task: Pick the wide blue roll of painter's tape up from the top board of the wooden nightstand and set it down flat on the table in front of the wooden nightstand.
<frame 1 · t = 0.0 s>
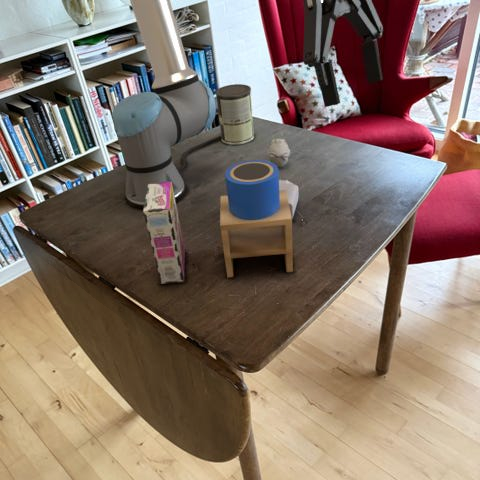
hand: (354, 93, 81), 28 cm above the table, tool tilted 20°, fingers open, 13 cm apart
tape roll: (254, 206, 87), point 12 cm above the table, touching wooden nightstand
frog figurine: (279, 166, 126), on the table
wooden nightstand: (258, 258, 95), on the table
coffee can: (237, 138, 142), on the table
charger: (278, 205, 110), on the table
candy bar box: (174, 268, 95), on the table
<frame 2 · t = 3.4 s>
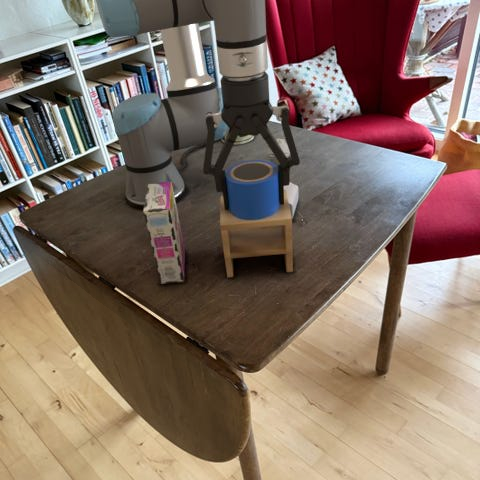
hand: (254, 203, 86), 13 cm above the table, tool pointing down, fingers closed on tape roll, 10 cm apart
tape roll: (254, 206, 87), point 12 cm above the table, touching gripper, wooden nightstand
everything else where it was.
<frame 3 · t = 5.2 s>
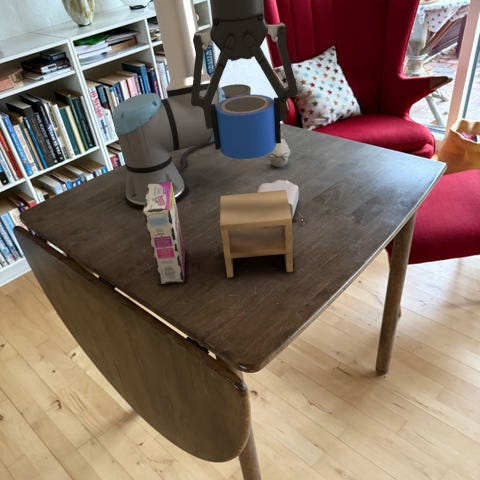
hand: (247, 143, 78), 24 cm above the table, tool pointing down, fingers closed on tape roll, 10 cm apart
tape roll: (248, 146, 79), point 23 cm above the table, touching gripper
everything else where it was.
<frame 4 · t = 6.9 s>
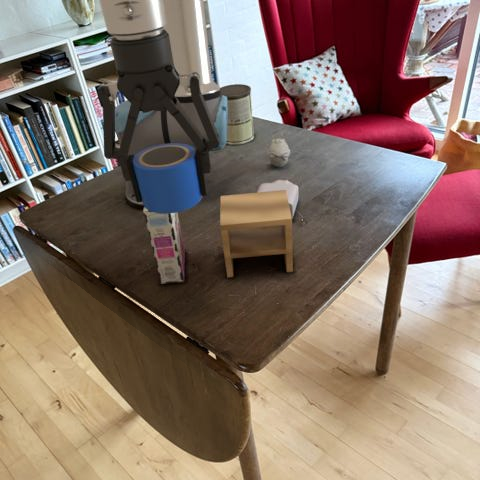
hand: (172, 194, 73), 21 cm above the table, tool pointing down, fingers closed on tape roll, 10 cm apart
tape roll: (173, 198, 73), point 21 cm above the table, touching gripper
everything else where it was.
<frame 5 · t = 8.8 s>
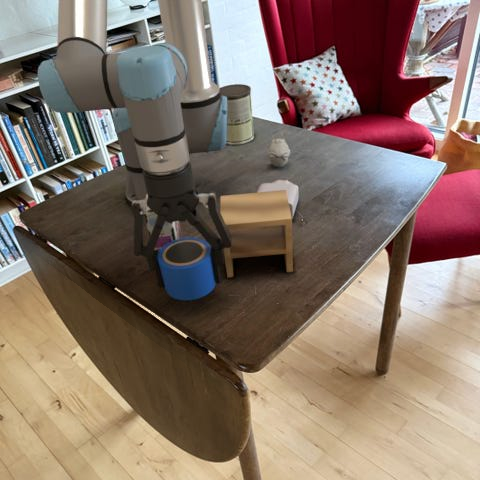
hand: (190, 280, 85), 4 cm above the table, tool pointing down, fingers closed on tape roll, 10 cm apart
tape roll: (190, 283, 85), point 3 cm above the table, touching gripper
everything else where it was.
when the fingers open (1 cm above the table, at t = 10.3 s): tape roll stays where it is, on the table.
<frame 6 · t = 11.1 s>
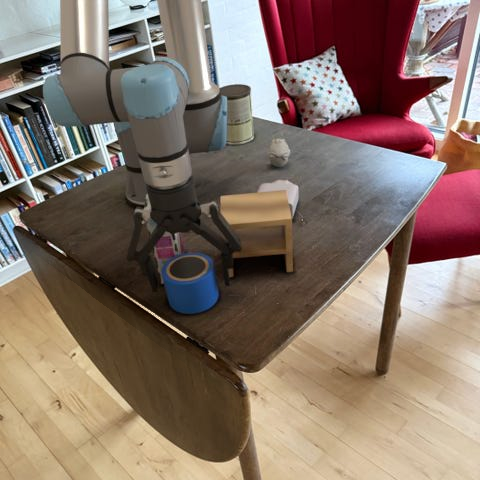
hand: (191, 284, 86), 3 cm above the table, tool pointing down, fingers open, 13 cm apart
tape roll: (193, 297, 88), on the table
everything else where it was.
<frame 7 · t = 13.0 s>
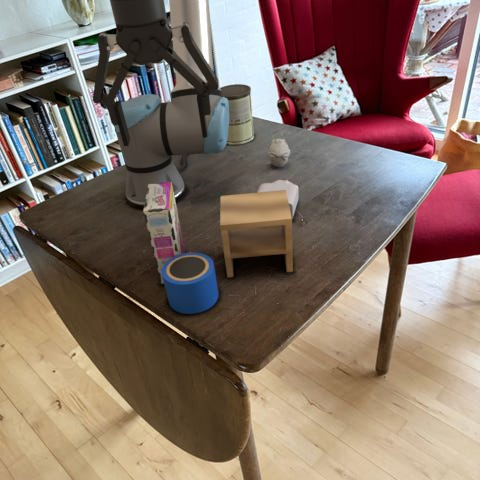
hand: (166, 138, 79), 26 cm above the table, tool pointing down, fingers open, 13 cm apart
nothing on the table moved.
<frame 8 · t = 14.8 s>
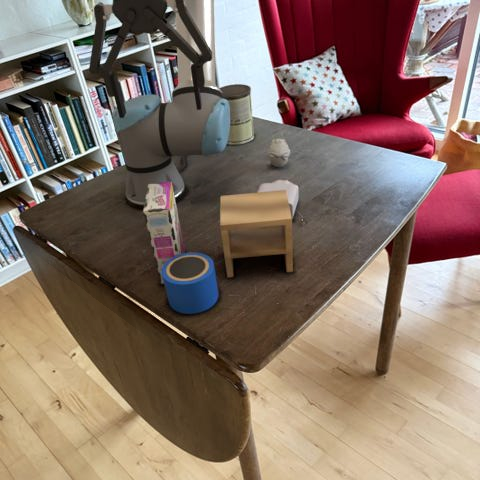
hand: (161, 111, 81), 29 cm above the table, tool pointing down, fingers open, 13 cm apart
nothing on the table moved.
at the end: tape roll inside the target area (0.1 cm from its centre), on the table; tape roll tilted 0°; tape roll touching table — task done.
